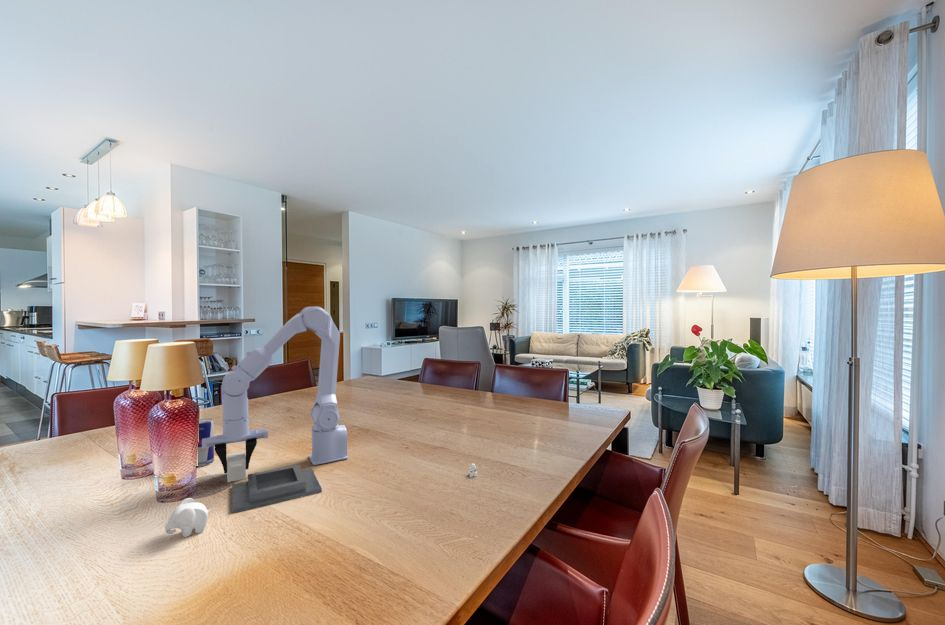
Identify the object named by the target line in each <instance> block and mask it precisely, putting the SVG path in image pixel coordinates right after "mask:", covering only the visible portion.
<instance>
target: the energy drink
mask: <svg viewBox="0 0 945 625" xmlns="http://www.w3.org/2000/svg"><path fill="white" fill-rule="evenodd" d="M198 420H199V442H198V467H197V468H199V467H200V468H201V467H205V466H209V465H211V464H213V463H214V461H215V446H210V447H207V448H202V439H204V438H209V437H214V436H215V428H214V426H215V423H214V419H213V418H199V419H198ZM210 463H211V464H210ZM208 464H209V465H208Z"/></svg>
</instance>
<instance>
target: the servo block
mask: <svg viewBox="0 0 945 625" xmlns="http://www.w3.org/2000/svg"><path fill="white" fill-rule="evenodd" d="M226 457H227V473H226V477H227V478H226V480H227V482H228V483H231V481H233V482H236V481H242V480H246V479H247V474H246V473H247V469H246V458H245V457H246V451H243V452H237V453H231V454H226ZM241 479H242V480H241ZM227 482H226V483H227Z"/></svg>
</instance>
